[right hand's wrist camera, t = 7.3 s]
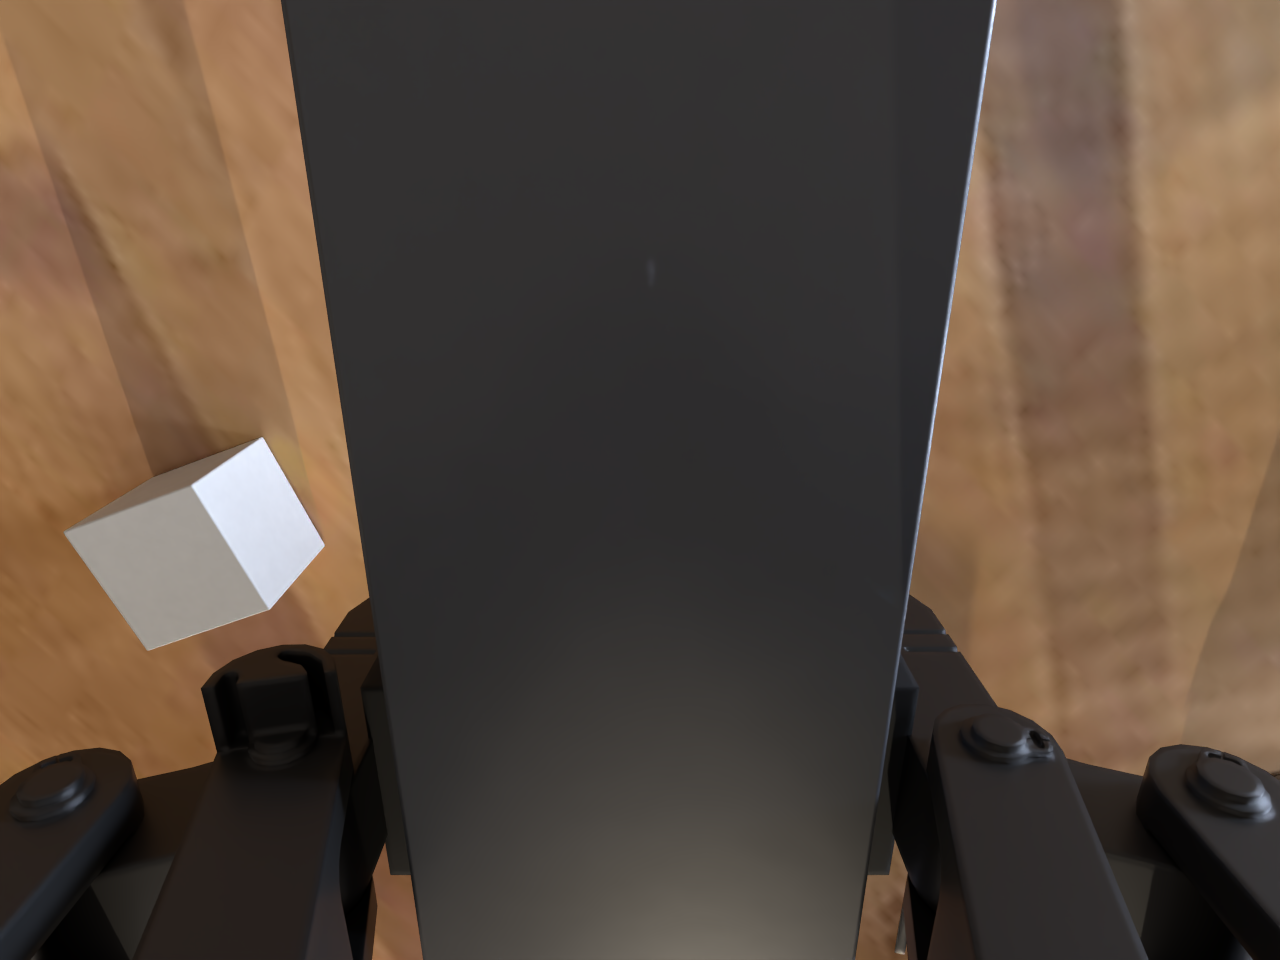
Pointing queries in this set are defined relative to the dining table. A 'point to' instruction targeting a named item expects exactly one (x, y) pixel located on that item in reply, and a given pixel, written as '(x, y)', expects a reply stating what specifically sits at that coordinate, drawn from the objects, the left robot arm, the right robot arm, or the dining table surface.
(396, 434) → the bar
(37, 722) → the dining table surface
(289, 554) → the pale grey block
